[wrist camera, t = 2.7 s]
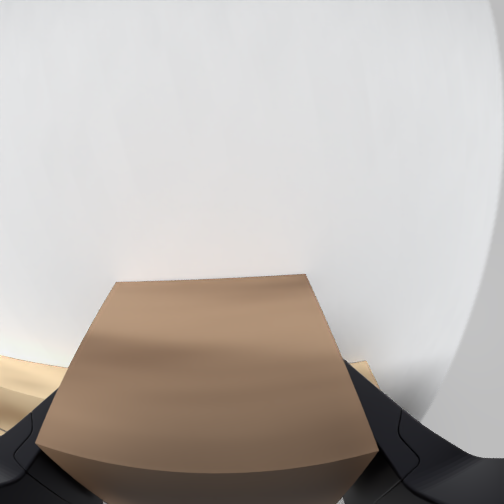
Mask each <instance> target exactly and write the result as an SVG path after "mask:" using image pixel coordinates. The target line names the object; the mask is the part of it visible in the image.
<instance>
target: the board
mask: <svg viewBox="0 0 504 504" xmlns="http://www.w3.org/2000/svg"><path fill="white" fill-rule="evenodd" d="M350 365H351V366H352V367H354V368H355V369H356V370H357V371H358V372H359V373H361V374H362V375H363V376H364V377H365V378H367V379H368V380H369V381H370V382H371V383H372V384H374V385H375V386H376V387H377V388H378V389H380V388H379V386H378V384H377V382H376V380H375V378H374V376H373V374H372V371H371V369H370V367H369V365H368V363H367V361H362V362H357V363H351V364H350ZM67 369H68V368H63V367H57V366H50V365H44V364H39V363H33V362H28V361H23V360H18V359H13V358H9V357H5V356H0V435H3V434H4V433H6V432H7V431H8V430H9V429H11V428H12V427H13V426H15V425H16V424H17V423H18V422H19V421H21V420H22V419H23V418H24V417H25V416H26V415H27V414H29V413H30V412H32V410H33V409H34V408H36V407H37V406H38V405H39V404H40V403H41V402H42V401H44V400H45V399H46V398H47V397H48V396H49V395H50V394H52V393H53V392H54V391H55V390H56V389H57V388H58V387H59V386H60V384H61V382H62V380H63V378H64V376H65V373H66V371H67Z"/></svg>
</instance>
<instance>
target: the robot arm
mask: <svg viewBox="0 0 504 504" xmlns="http://www.w3.org/2000/svg"><path fill="white" fill-rule="evenodd" d="M343 361H344V363H345V366H346V368H347V370H348V373H349V375H350V378H351V380H352V383H353V385H354V388H355V390H356V392H357V395H358V397H359V400H360V402H361V405H362V408H363V410H364V413H365V415H366V418H367V420H368V423H369V425H370V428H371V431H372V433H373V436H374V439H375V441H376V444H377V447H378V449H379V451H378V452H377V454H376V455H375V457H374V458H373V459H372V461H371V462H370V463H369V465H368V466H367V467H366V469H365V470H364V471H363V472H362V474H361V475H360V476H359V478H358V479H357V480H356V481H355V482H354V484H353V485H352V486H351V487H350V488H349V490H348V491H347V492H346V493H345V494H344V495H343V499H344V503H345V504H504V458H481V457H476V456H473V455H471V454H468V453H467V452H464V451H463V450H461V449H460V448H458V447H456V446H455V445H453V444H451V443H450V442H448V441H447V440H445V439H443V438H442V437H440V436H439V435H437V434H435V433H434V432H433V431H431V430H430V429H428V428H427V427H425V426H424V425H422V424H421V423H420V422H419V421H417V420H416V419H415V418H413V417H412V416H411V415H410V414H408V413H407V412H406V411H405V410H402V408H401V407H400V406H399V405H397V404H396V403H395V402H394V401H393V400H391V399H390V398H389V397H388V396H387V395H385V394H384V393H383V392H382V391H381V390H380V389H378V388H377V387H376V386H375V385H374V384H372V383H371V382H370V381H369V380H368V379H367V378H365V377H364V376H363V375H362V374H361V373H359V372H358V371H357V370H356V369H355V368H354V367H352V366H351V365H350V364H349V363H348V362H347V361H345V360H344V359H343ZM58 388H59V387H58ZM58 388H57V389H56V390H55V391H54V392H53V393H52V394H50V395H49V396H48V397H47V398H46V399H45V400H44V401H42V402H41V403H40V404H39V405H38V406H37V407H36V408H34V409H33V410H32V412H30V413H29V414H27V415H26V416H25V417H24V418H23V419H22V420H21V421H19V422H18V423H17V424H16V425H15V426H13V427H12V428H11V429H9V430H8V431H7V432H6V433H4V434H3V435H0V504H103V500H102V499H100V498H99V497H97V496H96V495H95V494H93V493H92V492H91V491H89V490H88V489H87V488H85V487H84V486H83V485H82V484H80V483H79V482H78V481H76V480H75V479H74V478H73V477H72V476H70V475H69V474H68V473H67V472H66V471H64V470H63V469H62V468H61V467H60V466H59V465H58V464H57V463H55V462H54V461H53V460H52V459H51V458H50V457H49V456H48V455H47V454H46V453H45V452H44V451H43V450H42V449H41V448H40V447H39V446H38V445H37V444H36V443H35V442H36V439H37V437H38V434H39V432H40V429H41V427H42V424H43V422H44V420H45V417H46V415H47V413H48V410H49V408H50V406H51V403H52V401H53V399H54V397H55V395H56V392H57V390H58Z"/></svg>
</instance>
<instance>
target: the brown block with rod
mask: <svg viewBox="0 0 504 504" xmlns="http://www.w3.org/2000/svg"><path fill="white" fill-rule="evenodd" d="M35 443H36V444H37V445H38V446H39V447H40V448H41V449H42V450H43V451H44V452H45V453H46V454H47V455H48V456H49V457H50V458H51V459H52V460H53V461H54V462H55V463H57V464H58V465H59V466H60V467H61V468H62V469H63V470H64V471H66V472H67V473H68V474H69V475H70V476H72V477H73V478H74V479H75V480H76V481H78V482H79V483H80V484H82V485H83V486H84V487H85V488H87V489H88V490H89V491H91V492H92V493H93V494H95V495H96V496H97V497H99V498H100V499H102V500H103V501H105V502H106V503H107V504H336V503H337V502H338V501H339V500H340V499H341V498H342V497H343V495H344V494H345V493H346V492H347V491H348V490H349V488H350V487H351V486H352V485H353V484H354V482H355V481H356V480H357V479H358V478H359V476H360V475H361V474H362V472H363V471H364V470H365V469H366V467H367V466H368V465H369V463H370V462H371V461H372V459H373V458H374V457H375V455H376V454H377V452H378V451H379V449H378V447H377V444H376V441H375V439H374V436H373V433H372V431H371V428H370V425H369V423H368V420H367V418H366V415H365V413H364V410H363V408H362V405H361V402H360V400H359V397H358V395H357V392H356V390H355V388H354V385H353V383H352V380H351V378H350V375H349V373H348V370H347V368H346V366H345V363H344V361H343V358H342V356H341V354H340V351H339V349H338V347H337V344H336V342H335V340H334V337H333V335H332V333H331V330H330V328H329V326H328V323H327V321H326V319H325V316H324V314H323V312H322V310H321V307H320V305H319V303H318V301H317V298H316V296H315V294H314V292H313V290H312V287H311V285H310V283H309V281H308V278H307V276H306V274H297V275H281V276H263V277H244V278H224V279H201V280H175V281H143V282H116V283H115V285H114V286H113V288H112V290H111V291H110V293H109V295H108V296H107V298H106V300H105V301H104V303H103V305H102V306H101V308H100V310H99V312H98V313H97V315H96V317H95V319H94V320H93V322H92V324H91V326H90V328H89V329H88V331H87V333H86V335H85V337H84V338H83V340H82V342H81V344H80V346H79V348H78V350H77V352H76V354H75V356H74V357H73V359H72V361H71V363H70V365H69V367H68V369H67V371H66V373H65V376H64V378H63V380H62V382H61V384H60V386H59V388H58V390H57V392H56V395H55V397H54V399H53V401H52V403H51V406H50V408H49V410H48V413H47V415H46V417H45V420H44V422H43V424H42V427H41V429H40V432H39V434H38V437H37V439H36V442H35Z"/></svg>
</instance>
